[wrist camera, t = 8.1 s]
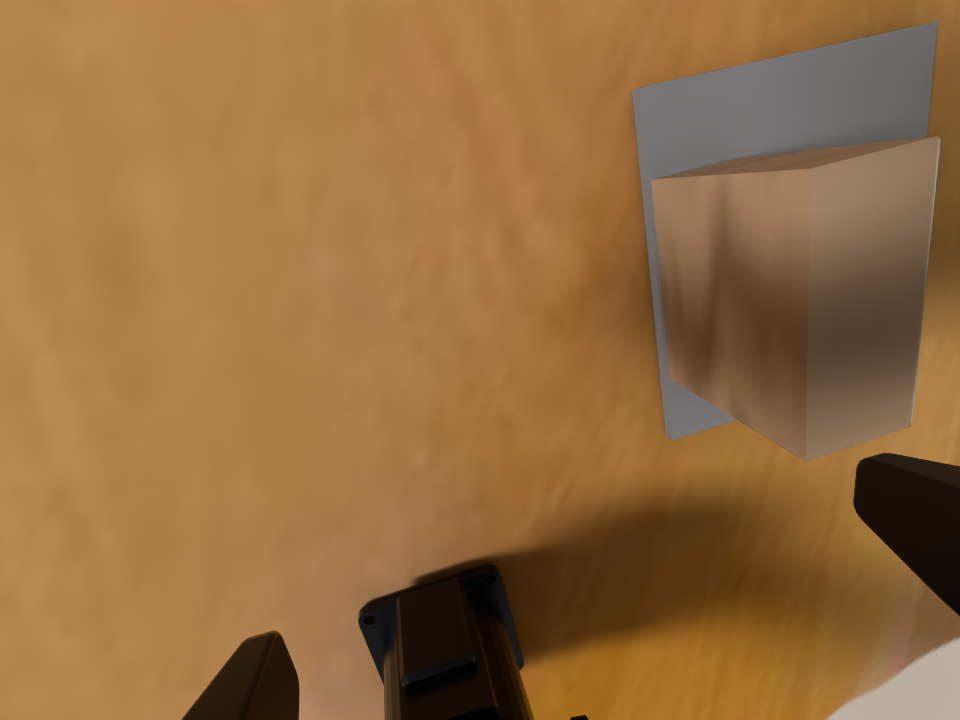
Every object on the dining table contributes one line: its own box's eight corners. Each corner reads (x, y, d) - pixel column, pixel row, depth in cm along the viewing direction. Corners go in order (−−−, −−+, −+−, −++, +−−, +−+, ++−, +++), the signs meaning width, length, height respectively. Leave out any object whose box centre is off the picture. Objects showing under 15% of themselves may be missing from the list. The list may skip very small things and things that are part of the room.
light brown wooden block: (747, 354, 21) (915, 425, 15) (669, 378, 21) (805, 461, 14) (741, 156, 18) (945, 134, 12) (651, 179, 18) (810, 168, 11)
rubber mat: (895, 362, 24) (905, 366, 23) (665, 435, 22) (672, 440, 22) (923, 25, 19) (937, 21, 18) (632, 90, 17) (638, 87, 17)
